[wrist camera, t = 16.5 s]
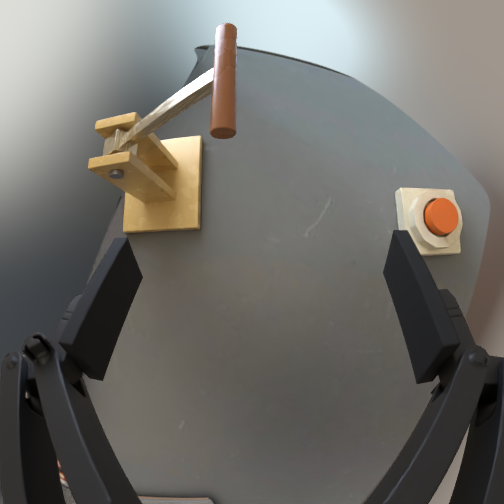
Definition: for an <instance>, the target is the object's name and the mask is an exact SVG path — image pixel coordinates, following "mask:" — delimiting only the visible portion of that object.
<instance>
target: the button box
mask: <svg viewBox="0 0 504 504" xmlns="http://www.w3.org/2000/svg"><path fill="white" fill-rule="evenodd" d="M438 198H446V199H448V200H450V201H451V202H452V203H453V204H454V205H455V207H456V209H457V212H458V224H457V227H456V228H455V230H454V231H452V232H450V233H447V234H444V235H436V234H434V233H433V232H431V231H430V230H429V228H428V227H427V225H426V223H425V218H424V213H425V209H426V207H427V205H428V204H429V203H431V202H433V201H434V200H436V199H438ZM395 199H396V208H397V217H398V227H399V230H408V232H409V234H410V235H411V237H412V239H413V241H414V243H415V245H416V246H417V248H418V250H419V252H420V254H421V256H432V255H453V254H458V253H461V248H460V237H459V236H460V233H461V230H462V225H463V224H462V216H461V211H460V208H459V206H458V205H457V203H456V201H455V198H454V192H453V190H442V189H422V188H400V189H399V190H397V191H396V192H395Z"/></svg>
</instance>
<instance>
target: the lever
mask: <svg viewBox="0 0 504 504" xmlns="http://www.w3.org/2000/svg"><path fill="white" fill-rule="evenodd" d="M236 64H237V28H236V27H235V26H234V25H233V24H230V23H223V24H221V25H219V26H218V27H217V29H216V39H215V51H214V66H213V69H211V70H210V71H208V72H206V73H205V74H203V75H202V76H200V77H199V78H197V79H196V80H194V81H193V82H192V83H190V84H189V85H187V86H186V87H184V88H183V89H181V90H180V91H179V92H177V93H176V94H175V95H173V96H172V97H170V98H169V99H168V100H166V101H165V102H164V103H163V104H161V105H160V106H159V107H157V108H156V109H155V110H154V111H152V112H151V113H150V114H148V115H147V116H146V117H145V118H143V119H142V120H141V121H140V122H138V123H137V124H136V125H135V126H134V127H132V128H131V129H130V130H129V131H128V132H127V131H124V130H120V129H116V130H115V131H114V132H113V133H112V134H111V135H110V136H109V137H108V138H107V139H106V140H105V145H104V151H103V156H106V155H111V154H116V153H122V152H127V151H130V152H132V153H133V154H134V155H135V156H136V153H137V145H138V142H140V141H141V140H142V139H144V138H145V137H146V136H148V135H149V134H151V133H152V132H153V131H155V130H156V129H158V128H159V127H160V126H162V125H163V124H165V123H166V122H168V121H169V120H171V119H172V118H174V117H175V116H177V115H178V114H180V113H181V112H183V111H184V110H186V109H187V108H189V107H190V106H192V105H194V104H195V103H197V102H198V101H200V100H202V99H203V98H205V97H207V96H208V95H210V94H212V100H211V121H210V134H211V136H212V137H214V138H218V139H228V138H232V137H233V136H235V134H236Z"/></svg>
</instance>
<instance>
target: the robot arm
mask: <svg viewBox="0 0 504 504" xmlns="http://www.w3.org/2000/svg"><path fill="white" fill-rule="evenodd" d="M383 274H384V277H385V279H386V282H387V285H388V288H389V291H390V294H391V297H392V300H393V303H394V306H395V309H396V312H397V315H398V318H399V321H400V325H401V328H402V331H403V334H404V338H405V341H406V345H407V348H408V352H409V356H410V359H411V363H412V367H413V371H414V375H415V379H416V383H417V384H420V383H425V382H430V381H433V380H434V379H435V377H436V376H437V375H439V379H440V382H439V383H438V384H437V386H436V387H435V388H434V389H433V390H432V392H431V394H433V395H432V397H431V399H430V401H429V403H428V405H427V407H426V409H425V411H424V413H423V415H422V417H421V419H420V420H419V422H418V424H417V426H416V428H415V429H414V431H413V433H412V434H411V436H410V438H409V440H408V441H407V443H406V444H405V446H404V448H403V449H402V451H401V452H400V454H399V456H398V457H397V459H396V461H395V462H394V463H393V465H392V466H391V468H390V469H389V471H388V472H387V474H386V475H385V476H384V478H383V479H382V480H381V482H380V483H379V485H378V486H377V487H376V489H375V490H374V492H373V493H372V494H371V495H370V496H369V498H368V499H367V500H366V502H365V503H364V504H428V503H429V502H430V500H431V499H432V497H433V495H434V493H435V492H436V490H437V489H438V487H439V485H440V483H441V482H442V480H443V478H444V476H445V474H446V473H447V471H448V469H449V467H450V465H451V463H452V461H453V459H454V457H455V455H456V453H457V451H458V449H459V447H460V445H461V442H462V440H463V438H464V436H465V433H466V431H467V429H468V426H469V424H470V426H469V432H468V437H467V442H466V446H465V450H464V455H463V459H462V463H461V466H460V470H459V474H458V477H457V481H456V484H455V487H454V490H453V493H452V496H451V499H450V502H449V504H504V358H502V357H495V356H489V355H488V354H487V352H486V350H484V349H483V348H482V347H481V346H477V345H476V344H475V342H474V339H473V337H472V335H471V332H470V330H469V327H468V325H467V323H466V321H465V318H464V316H463V314H462V312H461V309H459V305H458V303H457V301H456V299H455V297H454V296H453V295H452V294H451V293H450V292H449V291H448V290H447V289H442V290H438V288H437V286H436V284H435V282H434V280H433V278H432V276H431V274H430V271H429V269H428V267H427V266H426V264H425V262H424V260H423V258H422V256H421V254H420V252H419V250H418V248H417V246H416V245H415V243H414V241H413V239H412V237H411V235H410V234H409V232H408V230H394V231H393V235H392V240H391V244H390V248H389V252H388V256H387V260H386V264H385V267H384V271H383ZM142 278H143V276H142V274H141V272H140V269H139V267H138V264H137V261H136V259H135V256H134V254H133V251H132V248H131V246H130V243H129V240H128V238H115V239H114V241H113V242H112V244H111V246H110V247H109V249H108V251H107V252H106V254H105V255H104V257H103V259H102V260H101V262H100V264H99V266H98V267H97V269H96V271H95V272H94V274H93V276H92V278H91V279H90V281H89V283H88V285H87V287H86V288H85V290H84V292H83V294H82V295H77V296H76V297H75V298H74V299H73V300H72V301H71V302H70V304H69V306H68V307H67V309H66V313H64V315H63V317H62V320H61V321H60V323H59V325H58V327H57V329H56V331H55V333H54V335H53V337H52V339H51V341H50V342H49V341H48V339H47V338H46V337H45V336H44V335H43V334H42V333H37V332H36V333H34V334H31V335H30V336H29V337H28V338H27V339H26V340H25V342H24V344H23V347H22V351H23V352H24V354H25V355H26V356H25V357H23V356H22V355H21V354H20V352H18V351H16V350H14V351H11V352H9V353H8V354H7V355H6V356H5V358H4V360H3V363H2V369H1V377H0V479H1V488H2V496H3V502H4V504H65V500H64V495H63V490H62V485H61V480H60V474H59V468H58V462H57V458H58V461H59V464H60V466H61V469H62V471H63V474H64V477H65V479H66V481H67V484H68V486H69V489H70V491H71V493H72V495H73V498H74V500H75V502H76V504H142V502H141V501H140V499H139V497H138V496H137V494H136V492H135V491H134V489H133V487H132V485H131V484H130V482H129V480H128V478H127V477H126V475H125V473H124V471H123V469H122V467H121V465H120V464H119V462H118V460H117V458H116V456H115V454H114V452H113V450H112V448H111V446H110V443H109V441H108V439H107V437H106V435H105V433H104V430H103V428H102V426H101V424H100V421H99V419H98V417H97V414H96V412H95V409H94V407H93V404H92V402H91V399H90V396H89V394H88V391H87V388H86V386H85V383H84V381H83V379H82V378H81V376H82V373H83V372H84V373H85V374H86V375H87V376H88V377H89V378H91V379H96V380H101V381H103V379H104V376H105V373H106V370H107V367H108V364H109V361H110V359H111V356H112V353H113V350H114V348H115V345H116V342H117V340H118V337H119V334H120V332H121V329H122V327H123V324H124V321H125V319H126V316H127V314H128V311H129V309H130V306H131V304H132V302H133V299H134V297H135V294H136V292H137V290H138V287H139V285H140V283H141V280H142ZM26 393H27V398H26Z"/></svg>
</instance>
